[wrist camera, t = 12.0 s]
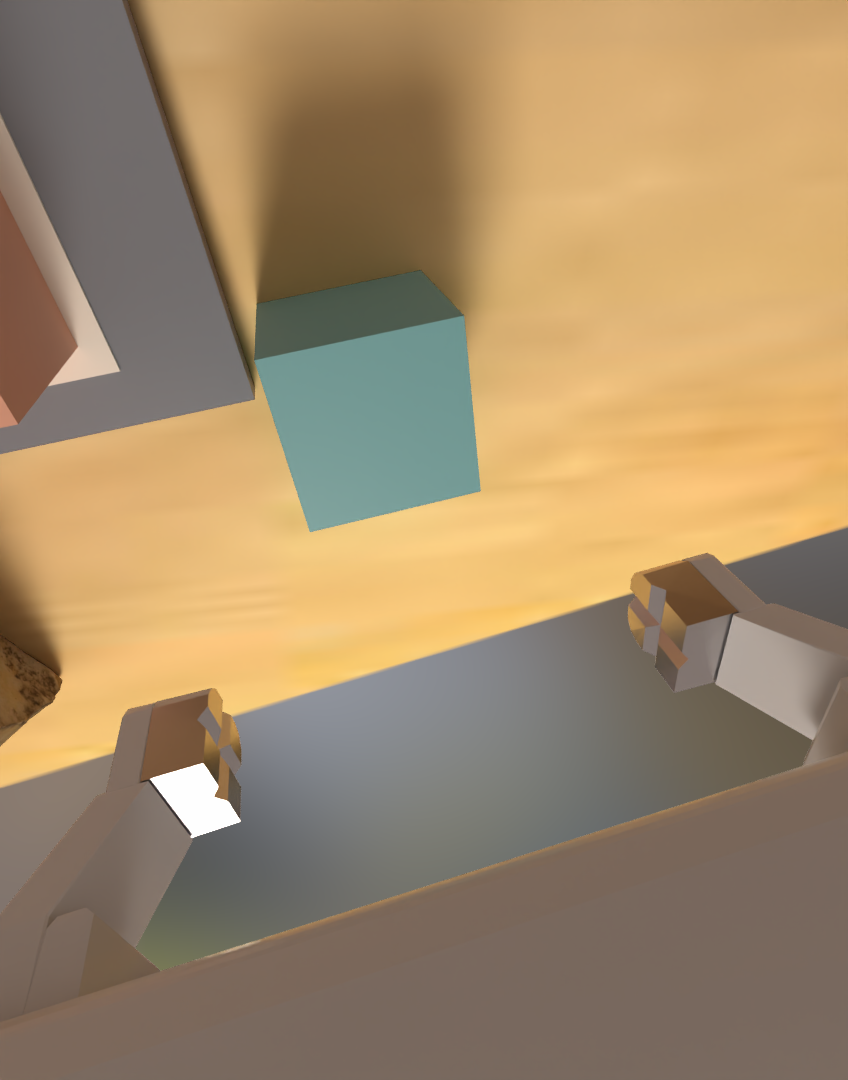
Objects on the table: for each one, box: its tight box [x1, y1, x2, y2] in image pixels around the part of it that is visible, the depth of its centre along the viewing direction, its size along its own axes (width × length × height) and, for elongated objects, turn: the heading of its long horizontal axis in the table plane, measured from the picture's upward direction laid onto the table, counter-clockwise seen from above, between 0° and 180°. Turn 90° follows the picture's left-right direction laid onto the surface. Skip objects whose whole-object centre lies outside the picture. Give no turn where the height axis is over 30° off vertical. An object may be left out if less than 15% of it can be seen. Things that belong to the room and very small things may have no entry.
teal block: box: [254, 270, 481, 532], centre depth 21 cm, size 6×6×6 cm
